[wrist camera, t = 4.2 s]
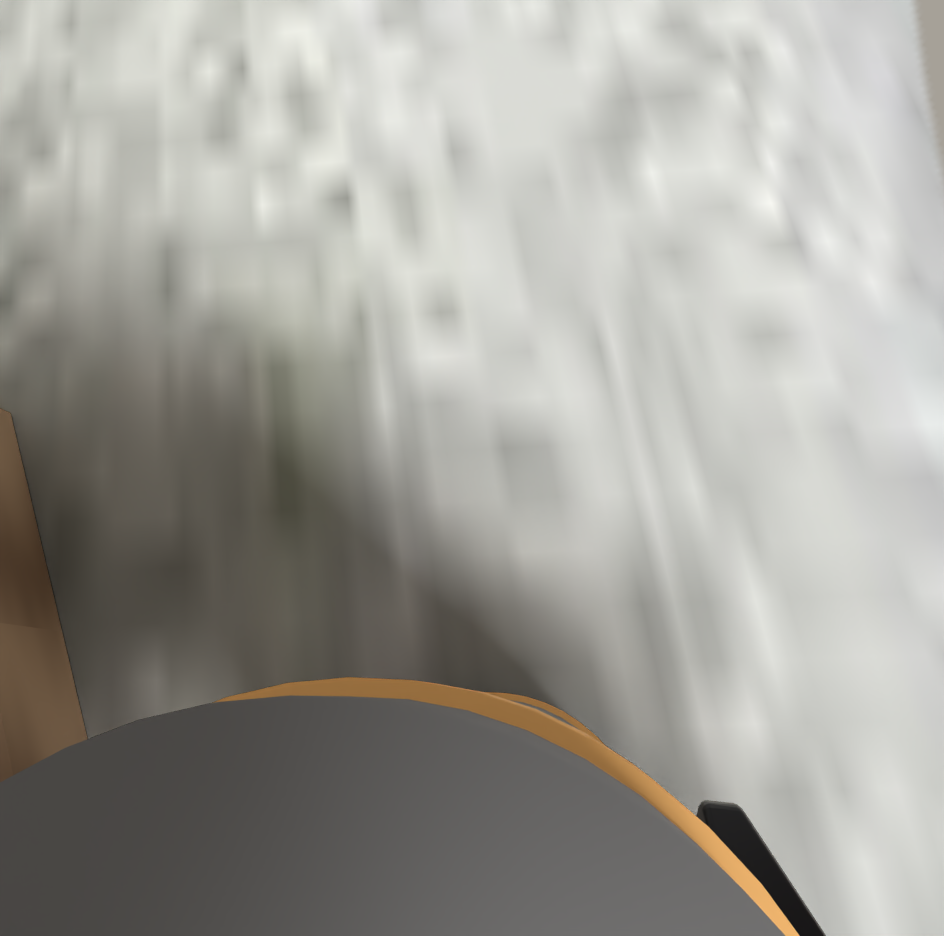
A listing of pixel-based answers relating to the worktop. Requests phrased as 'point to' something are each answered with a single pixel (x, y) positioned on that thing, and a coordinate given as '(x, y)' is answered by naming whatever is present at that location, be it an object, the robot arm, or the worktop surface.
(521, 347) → the worktop surface
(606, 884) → the orange banded cylinder
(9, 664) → the tan u-shaped stand
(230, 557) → the worktop surface
